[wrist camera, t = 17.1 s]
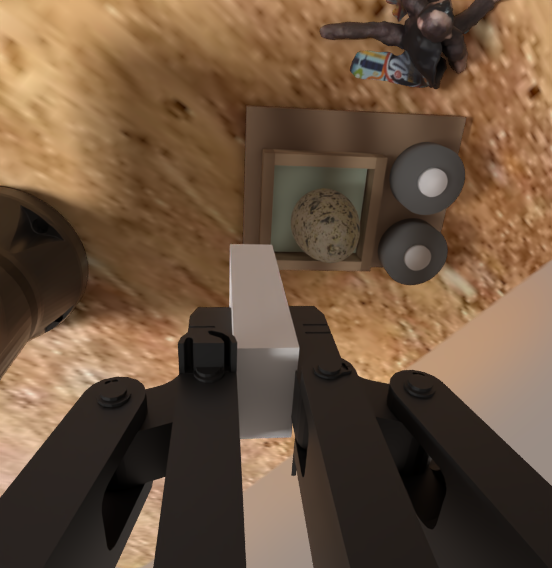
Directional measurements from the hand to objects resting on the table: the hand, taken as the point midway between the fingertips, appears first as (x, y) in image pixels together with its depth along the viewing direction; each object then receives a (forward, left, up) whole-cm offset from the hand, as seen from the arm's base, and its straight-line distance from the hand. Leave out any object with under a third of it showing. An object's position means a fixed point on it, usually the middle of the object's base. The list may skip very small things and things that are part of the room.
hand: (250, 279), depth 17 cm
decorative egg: (+8, -6, -28) cm, 29 cm away
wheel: (+17, -1, -26) cm, 31 cm away
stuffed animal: (+15, +11, -30) cm, 35 cm away
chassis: (+11, -4, -29) cm, 31 cm away
